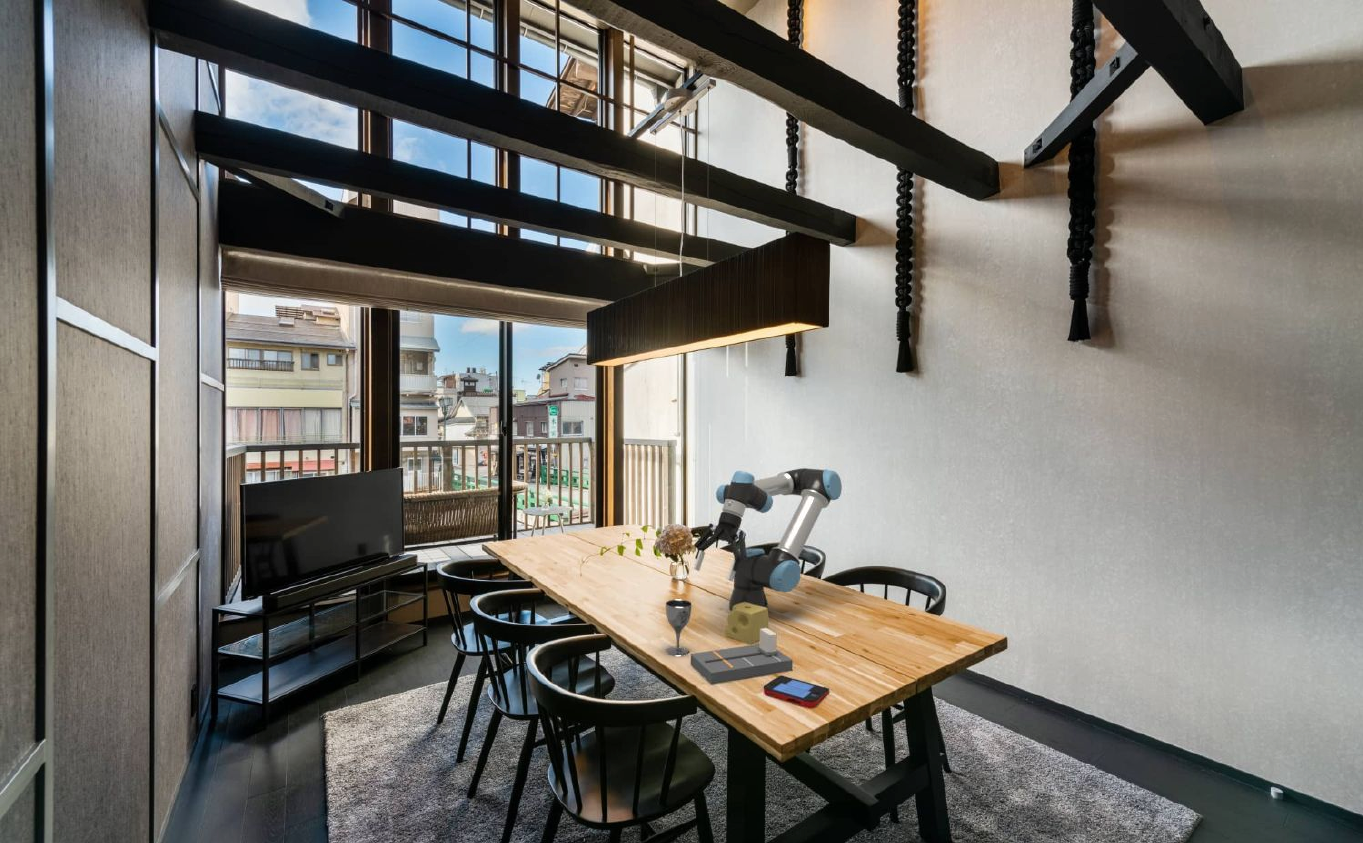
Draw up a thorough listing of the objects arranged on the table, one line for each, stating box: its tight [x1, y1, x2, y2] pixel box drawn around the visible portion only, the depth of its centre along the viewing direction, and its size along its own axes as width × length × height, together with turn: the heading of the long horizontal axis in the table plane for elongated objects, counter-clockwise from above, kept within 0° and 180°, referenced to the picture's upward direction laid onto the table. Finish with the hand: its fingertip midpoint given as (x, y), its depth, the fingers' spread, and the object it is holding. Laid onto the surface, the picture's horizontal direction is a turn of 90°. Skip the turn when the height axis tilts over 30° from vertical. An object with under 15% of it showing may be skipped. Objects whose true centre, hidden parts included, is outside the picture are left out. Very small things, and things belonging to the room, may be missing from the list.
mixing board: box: [690, 643, 794, 685], centre depth 163 cm, size 26×14×3 cm, turn 113°
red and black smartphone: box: [763, 674, 830, 709], centre depth 148 cm, size 14×13×2 cm
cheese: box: [725, 602, 769, 645], centre depth 188 cm, size 10×11×10 cm
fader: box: [758, 627, 779, 656], centre depth 166 cm, size 4×6×6 cm
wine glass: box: [665, 598, 692, 657], centre depth 174 cm, size 8×8×15 cm
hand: (712, 575), depth 186 cm, fingers open, 13 cm apart
